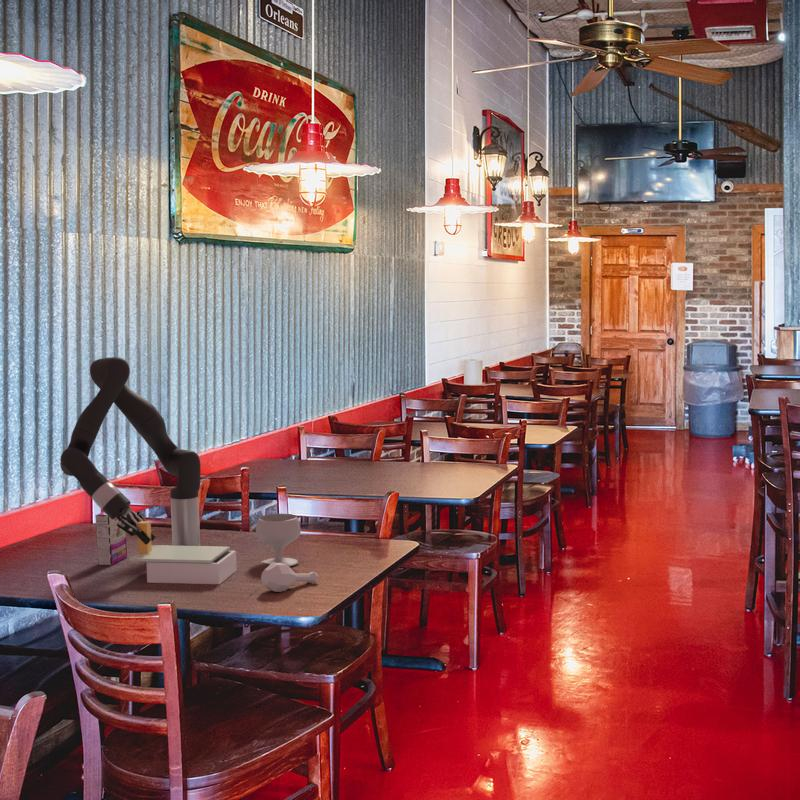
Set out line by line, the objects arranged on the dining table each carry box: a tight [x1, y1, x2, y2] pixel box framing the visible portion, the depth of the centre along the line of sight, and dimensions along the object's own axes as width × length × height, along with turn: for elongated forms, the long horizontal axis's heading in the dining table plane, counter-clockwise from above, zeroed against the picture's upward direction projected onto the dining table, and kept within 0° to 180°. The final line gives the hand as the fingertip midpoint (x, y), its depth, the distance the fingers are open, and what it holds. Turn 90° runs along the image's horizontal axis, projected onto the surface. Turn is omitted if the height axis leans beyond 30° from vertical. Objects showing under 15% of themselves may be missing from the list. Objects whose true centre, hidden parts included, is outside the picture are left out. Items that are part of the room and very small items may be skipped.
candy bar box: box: [94, 511, 128, 566], centre depth 332 cm, size 11×5×16 cm, turn 168°
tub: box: [146, 550, 238, 585], centre depth 308 cm, size 16×22×7 cm
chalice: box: [255, 513, 302, 568], centre depth 324 cm, size 14×14×15 cm
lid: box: [128, 520, 231, 563], centre depth 308 cm, size 17×25×10 cm
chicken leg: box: [260, 563, 319, 593], centre depth 297 cm, size 8×18×8 cm, turn 133°
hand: (151, 540), depth 310 cm, fingers closed on lid, 3 cm apart
